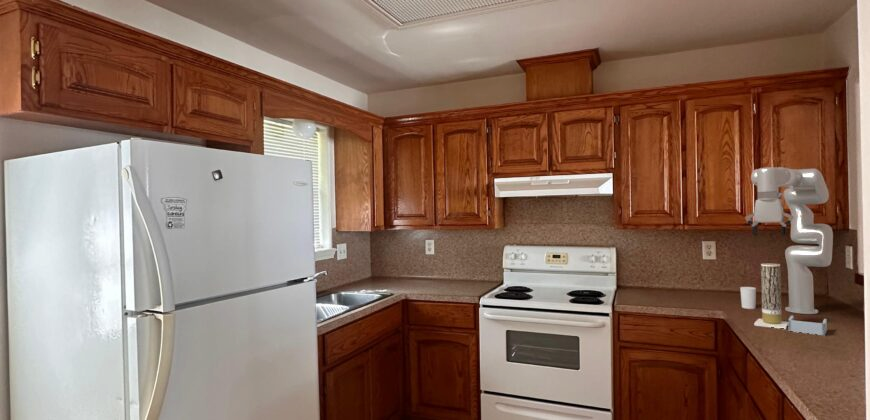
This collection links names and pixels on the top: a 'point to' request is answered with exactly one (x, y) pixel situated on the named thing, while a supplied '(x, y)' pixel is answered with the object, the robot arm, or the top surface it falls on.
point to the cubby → (807, 326)
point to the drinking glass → (748, 297)
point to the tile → (764, 324)
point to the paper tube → (771, 293)
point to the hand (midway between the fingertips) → (769, 235)
